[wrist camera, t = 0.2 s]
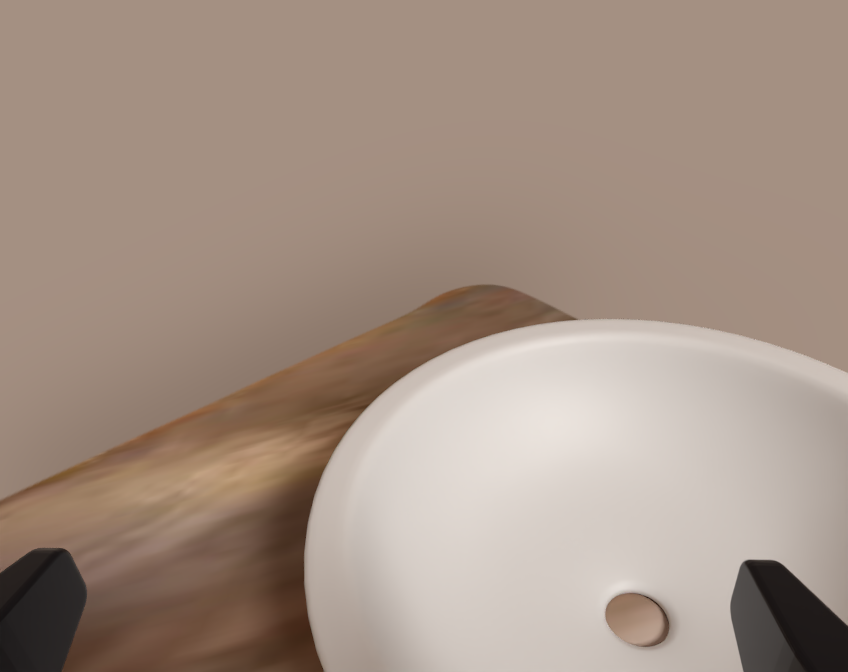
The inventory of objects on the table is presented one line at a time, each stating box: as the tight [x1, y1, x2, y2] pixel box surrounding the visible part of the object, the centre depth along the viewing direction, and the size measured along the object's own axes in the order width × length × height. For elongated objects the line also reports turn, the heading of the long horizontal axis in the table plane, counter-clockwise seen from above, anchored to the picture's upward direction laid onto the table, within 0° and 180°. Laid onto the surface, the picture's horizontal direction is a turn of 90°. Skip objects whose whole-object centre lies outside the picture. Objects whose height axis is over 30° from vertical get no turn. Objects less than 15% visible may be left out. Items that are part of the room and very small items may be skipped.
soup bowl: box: [304, 319, 848, 672], centre depth 24 cm, size 24×24×7 cm
